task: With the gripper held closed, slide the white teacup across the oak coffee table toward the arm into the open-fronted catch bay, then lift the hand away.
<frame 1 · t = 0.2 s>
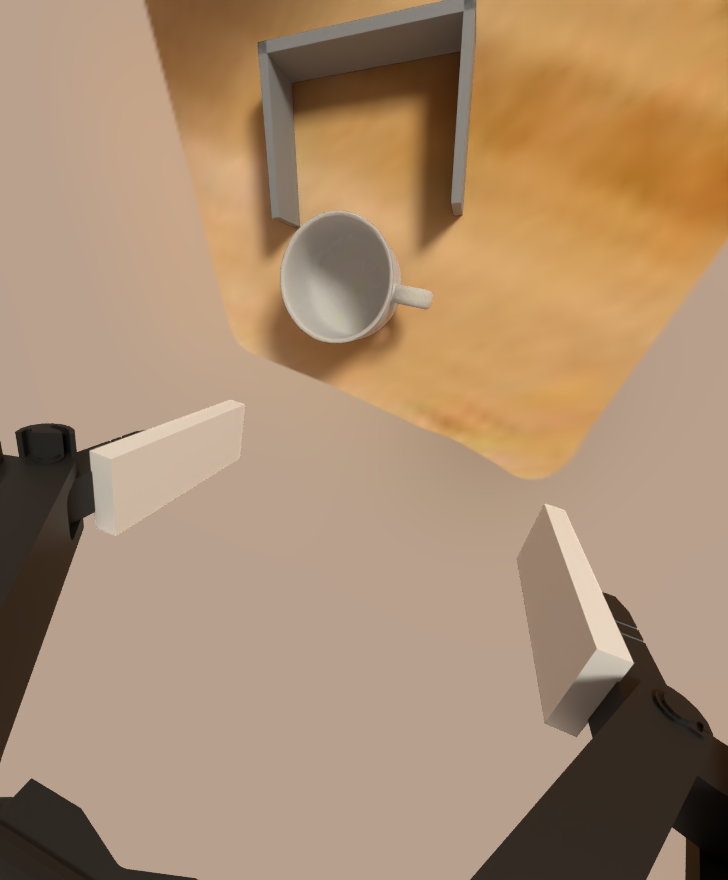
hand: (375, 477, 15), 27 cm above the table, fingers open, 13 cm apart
catch bay: (372, 149, 35), on the table
teacup: (373, 291, 39), on the table
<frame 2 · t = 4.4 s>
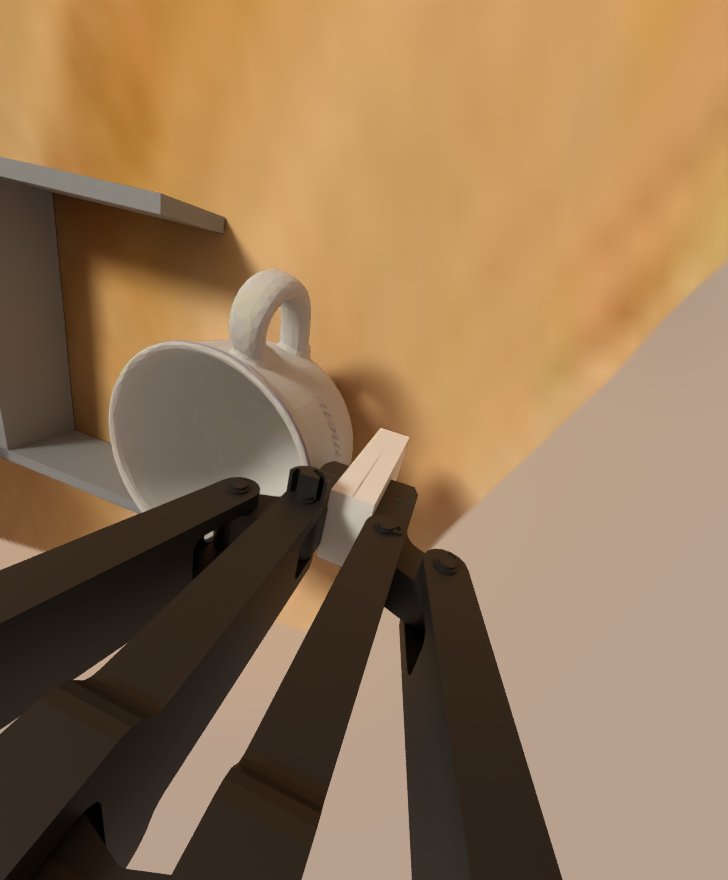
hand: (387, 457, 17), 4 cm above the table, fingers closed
catch bay: (136, 348, 24), on the table
teacup: (299, 400, 22), on the table, touching gripper
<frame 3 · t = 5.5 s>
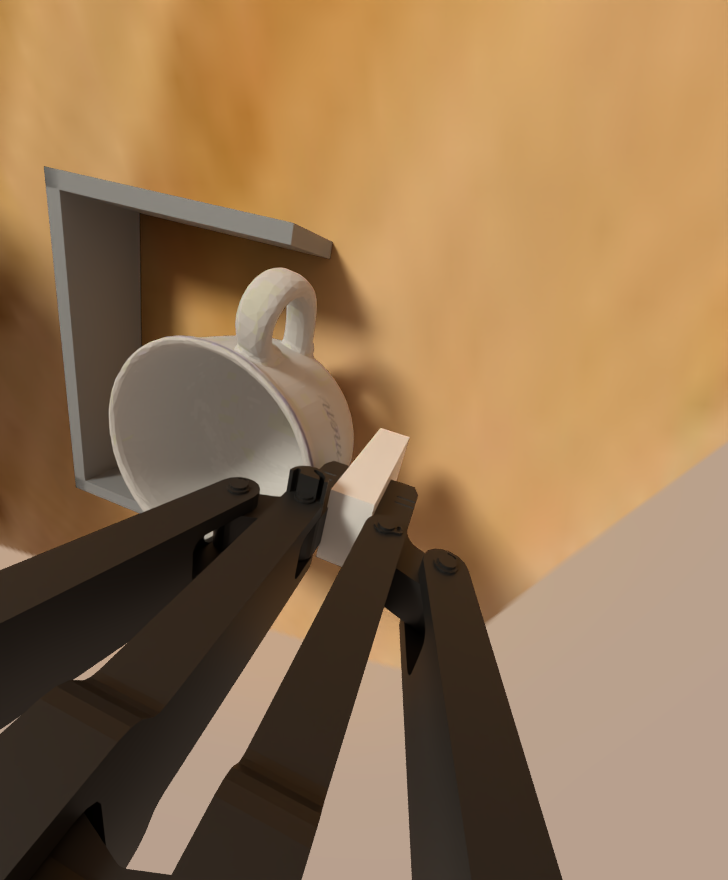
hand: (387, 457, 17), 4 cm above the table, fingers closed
catch bay: (219, 374, 23), on the table
teacup: (300, 397, 22), on the table, touching gripper
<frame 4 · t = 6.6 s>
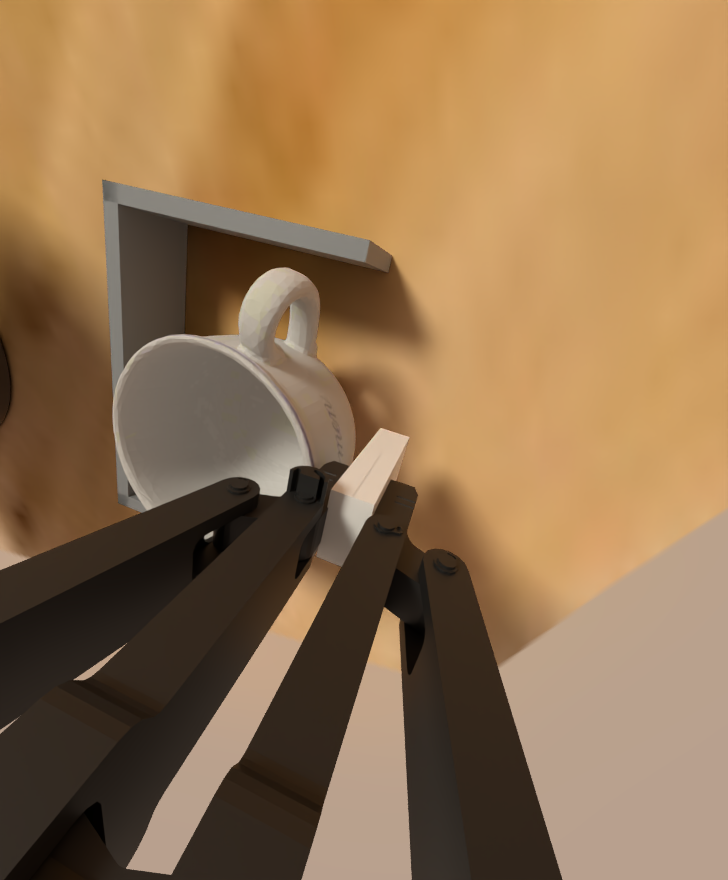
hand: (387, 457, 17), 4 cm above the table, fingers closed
catch bay: (265, 388, 23), on the table
teacup: (303, 397, 22), on the table, touching gripper
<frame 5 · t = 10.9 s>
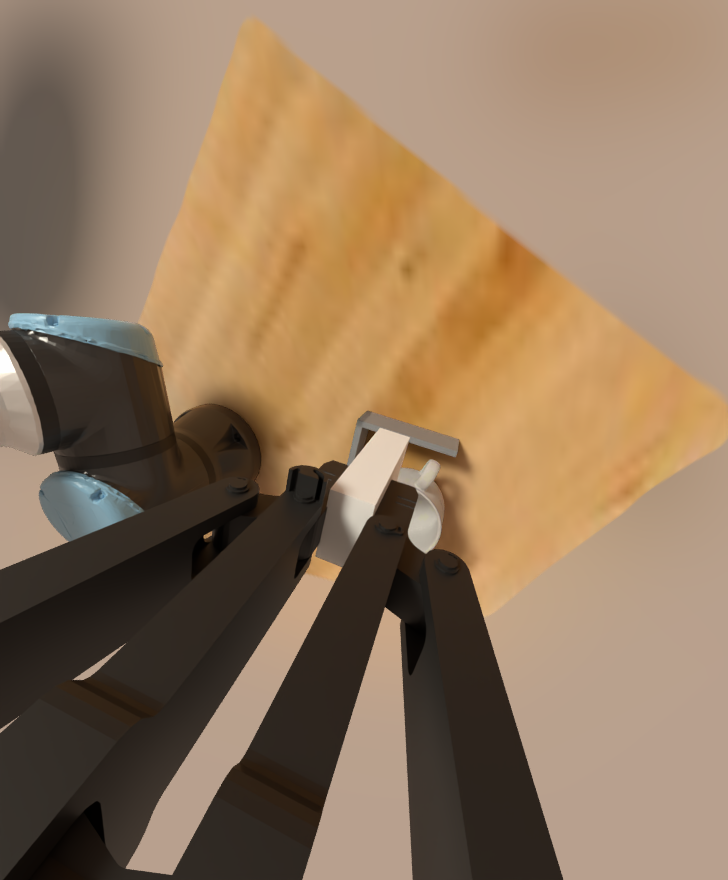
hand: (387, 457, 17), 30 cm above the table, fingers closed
catch bay: (397, 481, 52), on the table
teacup: (415, 486, 51), on the table
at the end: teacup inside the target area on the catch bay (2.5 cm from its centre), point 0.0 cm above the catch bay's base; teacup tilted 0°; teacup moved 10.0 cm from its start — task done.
